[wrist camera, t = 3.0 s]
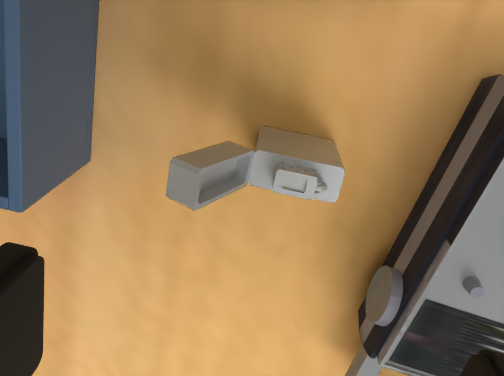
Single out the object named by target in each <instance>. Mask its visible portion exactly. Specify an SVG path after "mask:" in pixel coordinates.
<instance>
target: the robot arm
mask: <svg viewBox="0 0 504 376" xmlns="http://www.w3.org/2000/svg"><path fill="white" fill-rule="evenodd" d="M43 315H44V259H43V257H41V256H38V252H37V250H36V249H35V248H33V247H28V246H24V245H19V244H15V243H10V242H7V243H5V244H3V245H1V246H0V376H32V374H33V373H34V371H35V370H36V368H37V367H38V365H39V363H40V360H41V358H42V354H43ZM460 376H504V353H500V352H496V351H492V350H487V349H483V350H481V351H479V353H478V354H473V355H471V356H470V358H469V359H468V361H467V363H466V365H465V367H464V369H463V371H462V373H461V375H460Z"/></svg>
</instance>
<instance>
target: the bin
mask: <svg viewBox="0 0 504 376" xmlns="http://www.w3.org/2000/svg"><path fill="white" fill-rule="evenodd" d="M98 10H99V0H0V208H2V209H6V210H8V209H9V210H11V211H15V212H20V213H22V212H24V211H25V210H26V209H28V208H29V207H30V206H31V205H33V204H34V203H35V202H37V201H38V200H39V199H41V198H42V197H43V196H45V195H46V194H47V193H49V192H50V191H51V190H52V189H54V188H55V187H56V186H58V185H59V184H60V183H62V182H63V181H64V180H66V179H67V178H68V177H70V176H71V175H72V174H73V173H75V172H76V171H77V170H79V169H80V168H81V167H83V166H84V165H85V164H87V163H88V162H89V161H90V154H91V136H92V118H93V100H94V82H95V64H96V46H97V28H98Z"/></svg>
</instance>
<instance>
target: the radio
mask: <svg viewBox="0 0 504 376" xmlns="http://www.w3.org/2000/svg"><path fill="white" fill-rule="evenodd" d="M359 332H360V337H361V341H362V346H361V348H360V349H359V351H358V353H357V355H356V356H355V358H354V360H353V362H352V364H351V365H350V367H349V369H348V371H347V372H346V374H345V376H378V375H379V373H380V372H381V370H382V368H383V367H385V368H388V369H391V370H394V371H398V372H401V373H404V374H407V375H410V376H460V375H461V373H462V371H463V369H464V367H465V365H466V363H467V361H468V359H469V358H470V356H471V355H473V354H478V353H479V351H481V350H483V349H487V350H492V351H496V352H500V353H504V76H503V75H500V74H499V75H495V76H492V77H488V78H485V79H482V81H481V82H480V84H479V86H478V88H477V90H476V92H475V94H474V95H473V97H472V99H471V101H470V103H469V105H468V107H467V109H466V110H465V112H464V114H463V116H462V118H461V120H460V122H459V124H458V125H457V127H456V129H455V131H454V133H453V135H452V137H451V138H450V140H449V142H448V144H447V146H446V148H445V150H444V152H443V153H442V155H441V157H440V159H439V161H438V163H437V165H436V167H435V168H434V170H433V172H432V174H431V176H430V178H429V180H428V181H427V183H426V185H425V187H424V189H423V191H422V193H421V195H420V196H419V198H418V200H417V202H416V204H415V206H414V208H413V210H412V211H411V213H410V215H409V217H408V219H407V221H406V223H405V225H404V226H403V228H402V230H401V232H400V234H399V236H398V238H397V239H396V241H395V243H394V245H393V247H392V249H391V251H390V253H389V254H388V256H387V258H386V260H385V262H384V264H383V266H382V267H380V268H379V269H378V270H377V272H376V273H375V275H374V276H373V278H372V280H371V283H370V285H369V289H368V292H367V296H366V297H365V299H364V301H363V303H362V305H361V307H360V309H359Z"/></svg>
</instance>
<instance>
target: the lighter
mask: <svg viewBox="0 0 504 376" xmlns="http://www.w3.org/2000/svg"><path fill="white" fill-rule="evenodd" d="M344 176H345V170H344V167H343V164H342V161H341V158H340V155H339V152H338V149H337V146H336V144H335V142H334V141H333V140H328V139H324V138H319V137H314V136H310V135H305V134H300V133H296V132H291V131H286V130H281V129H277V128H272V127H267V126H263V127H261V128H260V131H259V135H258V139H257V143H256V147H255V151H253V150H252V149H249V148H246V147H244V146H241V145H238V144H236V143H233V142H230V141H226V142H223V143H220V144H216V145H213V146H210V147H206V148H203V149H200V150H196V151H193V152H190V153H186V154H183V155H180V156H176V157H173V159H172V160H171V162H170V167H169V175H168V183H167V191H166V196H167V197H168V198H169V199H171V200H173V201H175V202H177V203H179V204H181V205H184V206H186V207H188V208H190V209H192V210H194V211H196V210H198V209H200V208H202V207H204V206H206V205H208V204H210V203H212V202H214V201H216V200H218V199H220V198H222V197H224V196H226V195H228V194H230V193H232V192H234V191H237V190H239V189H241V188H243V187H245V186H246V185H247V183H248V182H249V183H250V185H251V186H255V187H260V188H265V189H269V190H273V192H276V193H280V194H285V195H290V196H294V197H299V198H304V199H308V200H311V199H316V200H321V201H326V202H330V203H333V202H335V201H337V199H338V195H339V192H340V189H341V186H342V182H343V179H344Z"/></svg>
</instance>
